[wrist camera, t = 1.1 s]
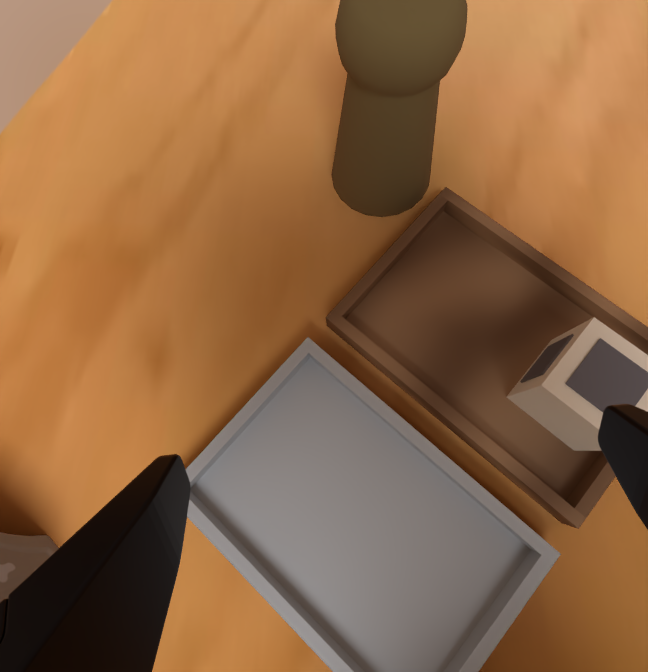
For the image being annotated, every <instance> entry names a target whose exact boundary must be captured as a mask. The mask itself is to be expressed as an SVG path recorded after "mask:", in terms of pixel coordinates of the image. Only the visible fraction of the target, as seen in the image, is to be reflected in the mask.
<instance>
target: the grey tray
mask: <svg viewBox="0 0 648 672" xmlns="http://www.w3.org/2000/svg"><path fill="white" fill-rule="evenodd" d="M186 472H187V475H188V478H189V481H190V486H191V492H190V499H189V506H188V513H187V517H188V518H189V519H190V520H191V521H192V522H193V523H194V524H195V526H196V527H197V528H198V529H199V530H200V531H201V532H202V533H203V534H204V535H205V536H206V537H207V538H208V539H209V540H210V541H211V543H212V544H213V545H214V546H215V547H216V548H217V549H218V550H219V551H220V552H221V553H222V554H223V555H224V556H225V557H226V558H227V560H228V561H229V562H230V563H231V564H232V565H233V566H234V567H235V568H236V569H237V570H238V571H239V572H240V573H241V574H242V575H243V577H244V578H245V579H246V580H247V581H248V582H249V583H250V584H251V585H252V586H253V587H254V588H255V589H256V590H257V591H258V593H259V594H260V595H261V596H262V597H263V598H264V599H265V600H266V601H267V602H268V603H269V604H270V605H271V606H272V607H273V608H274V610H275V611H276V612H277V613H278V614H279V615H280V616H281V617H282V618H283V619H284V620H285V621H286V622H287V623H288V624H289V625H290V627H291V628H292V629H293V630H294V631H295V632H296V633H297V634H298V635H299V636H300V637H301V638H302V639H303V640H304V641H305V642H306V644H307V645H308V646H309V647H310V648H311V649H312V650H313V651H314V652H315V653H316V654H317V655H318V656H319V657H320V658H321V660H322V661H323V662H324V663H325V664H326V665H327V666H328V667H329V668H330V669H331V670H332V671H333V672H479V670H480V669H481V667H482V666H483V664H484V663H485V662H486V660H487V659H488V657H489V656H490V654H491V653H492V652H493V650H494V649H495V647H496V646H497V644H498V643H499V642H500V640H501V639H502V637H503V636H504V634H505V633H506V632H507V630H508V629H509V627H510V626H511V624H512V623H513V622H514V620H515V619H516V617H517V616H518V615H519V613H520V612H521V610H522V609H523V607H524V606H525V605H526V603H527V602H528V600H529V599H530V597H531V596H532V595H533V593H534V592H535V590H536V589H537V587H538V586H539V585H540V583H541V582H542V580H543V579H544V577H545V576H546V575H547V573H548V572H549V570H550V569H551V567H552V566H553V565H554V563H555V562H556V560H557V559H558V557H559V556H560V555H561V554H560V553H559V552H558V551H557V550H556V549H554V548H553V547H552V546H551V545H550V544H549V543H547V542H546V541H545V540H544V539H543V538H542V537H540V536H539V535H538V534H537V533H536V532H535V531H533V530H532V529H531V528H530V527H529V526H528V525H526V524H525V523H524V522H523V521H522V520H521V519H519V518H518V517H517V516H516V515H515V514H514V513H512V512H511V511H510V510H509V509H508V508H507V507H505V506H504V505H503V504H502V503H501V502H500V501H498V500H497V499H496V498H495V497H494V496H493V495H491V494H490V493H489V492H488V491H487V490H486V489H484V488H483V487H482V486H481V485H480V484H479V483H477V482H476V481H475V480H474V479H473V478H472V477H470V476H469V475H468V474H467V473H466V472H465V471H463V470H462V469H461V468H460V467H459V466H458V465H456V464H455V463H454V462H453V461H452V460H451V459H450V458H448V457H447V456H446V455H445V454H444V453H443V452H441V451H440V450H439V449H438V448H437V447H436V446H434V445H433V444H432V443H431V442H430V441H429V440H427V439H426V438H425V437H424V436H423V435H422V434H420V433H419V432H418V431H417V430H416V429H415V428H413V427H412V426H411V425H410V424H409V423H408V422H406V421H405V420H404V419H403V418H402V417H401V416H399V415H398V414H397V413H396V412H395V411H394V410H392V409H391V408H390V407H389V406H388V405H387V404H385V403H384V402H383V401H382V400H381V399H380V398H378V397H377V396H376V395H375V394H374V393H373V392H371V391H370V390H369V389H368V388H367V387H366V386H364V385H363V384H362V383H361V382H360V381H359V380H357V379H356V378H355V377H354V376H353V375H352V374H350V373H349V372H348V371H347V370H346V369H345V368H343V367H342V366H341V365H340V364H339V363H338V362H337V361H335V360H334V359H333V358H332V357H331V356H330V355H328V354H327V353H326V352H325V351H324V350H323V349H321V348H320V347H319V346H318V345H317V344H316V343H314V342H313V341H312V340H311V339H310V338H309V337H307V338H306V339H305V340H304V342H303V343H302V344H301V345H300V346H299V347H298V348H297V349H296V350H295V351H294V352H293V353H292V355H291V356H290V357H289V358H288V359H287V360H286V361H285V362H284V363H283V364H282V365H281V367H280V368H279V369H278V370H277V371H276V372H275V373H274V374H273V375H272V376H271V377H270V378H269V380H268V381H267V382H266V383H265V384H264V385H263V386H262V387H261V388H260V389H259V390H258V391H257V393H256V394H255V395H254V396H253V397H252V398H251V399H250V400H249V401H248V402H247V403H246V405H245V406H244V407H243V408H242V409H241V410H240V411H239V412H238V413H237V414H236V415H235V416H234V418H233V419H232V420H231V421H230V422H229V423H228V424H227V425H226V426H225V427H224V428H223V429H222V431H221V432H220V433H219V434H218V435H217V436H216V437H215V438H214V439H213V440H212V441H211V442H210V444H209V445H208V446H207V447H206V448H205V449H204V450H203V451H202V452H201V453H200V454H199V456H198V457H197V458H196V459H195V460H194V461H193V462H192V463H191V464H190V465H189V466H188V467H187V469H186Z"/></svg>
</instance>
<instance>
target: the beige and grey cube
mask: <svg viewBox="0 0 648 672" xmlns="http://www.w3.org/2000/svg"><path fill="white" fill-rule="evenodd" d="M507 398H508V399H509V400H511V401H512V402H513V403H514V404H516V405H517V406H518V407H519V408H521V409H522V410H523V411H525V412H526V413H527V414H528V415H530V416H531V417H532V418H533V419H535V420H536V421H537V422H538V423H540V424H541V425H542V426H543V427H545V428H546V429H547V430H548V431H550V432H551V433H552V434H554V435H555V436H556V437H557V438H559V439H560V440H561V441H562V442H564V443H565V444H566V445H567V446H569V447H570V448H571V449H572V450H574V451H602V450H601V448H600V446H599V443H598V432H599V428H600V424H601V420H602V415H603V411H604V409H605V408H606V407H607V406H610V405H617V404H631V405H633V406H636V407H638V408H640V409H643V410H645V411H647V412H648V355H647V354H645V353H644V352H643V351H641V350H640V349H638V348H637V347H636V346H634V345H633V344H631V343H630V342H629V341H627V340H626V339H624V338H623V337H622V336H620V335H619V334H617V333H616V332H614V331H613V330H612V329H610V328H609V327H607V326H606V325H605V324H603V323H602V322H600V321H599V320H598V319H596V318H595V317H593V318H591V319H590V320H588V321H586V322H584V323H582V324H580V325H578V326H577V327H575V328H573V329H571V330H569V331H567V332H565V333H563V334H562V335H560V336H558V337H556V338H554V339H552V340H551V341H550V342H549V343H548V345H547V346H546V347H545V348H544V350H543V351H542V352H541V354H540V355H539V356H538V357H537V359H536V360H535V361H534V362H533V364H532V365H531V366H530V368H529V369H528V370H527V371H526V373H525V374H524V375H523V376H522V378H521V379H520V380H519V381H518V383H517V384H516V385H515V387H514V388H513V389H512V390H511V392H510V393H509V394H508V395H507Z"/></svg>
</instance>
